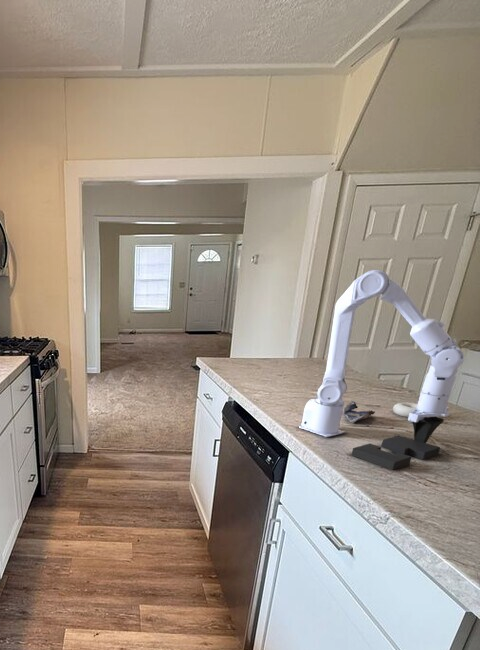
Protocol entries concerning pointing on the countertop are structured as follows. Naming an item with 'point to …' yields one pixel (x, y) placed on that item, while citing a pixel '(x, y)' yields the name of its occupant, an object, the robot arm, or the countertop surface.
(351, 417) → the snack package
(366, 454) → the base pad
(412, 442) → the tab pad
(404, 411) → the donut
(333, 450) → the countertop surface
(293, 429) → the countertop surface
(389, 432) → the countertop surface
